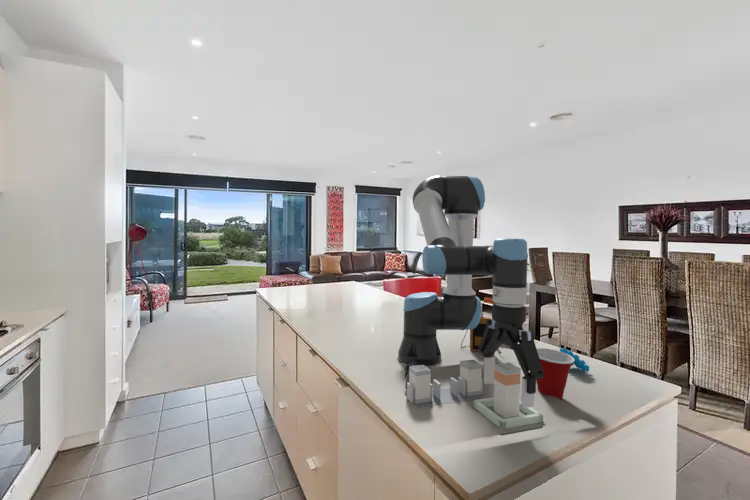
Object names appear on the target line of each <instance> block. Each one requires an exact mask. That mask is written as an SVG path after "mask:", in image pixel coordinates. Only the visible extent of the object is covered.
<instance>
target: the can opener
mask: <svg viewBox="0 0 750 500" xmlns="http://www.w3.org/2000/svg"><path fill="white" fill-rule="evenodd" d="M409 366H418V363H417V362H416V361H411V363H410V364H407V363H405V364H403V369H404V370H405V374H404V375H405V376H406V379H405V389H406V390H407V383H409Z"/></svg>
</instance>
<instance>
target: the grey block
mask: <svg viewBox="0 0 750 500" xmlns="http://www.w3.org/2000/svg"><path fill="white" fill-rule="evenodd" d="M431 372H432V371H431V369H430V368H428V366H427V365H425V366H424V365H417V366H409V383H410V384H411V385H412V386H413V387H414V403H415V404H417V403H424V402H430V383H431V375H432V373H431Z"/></svg>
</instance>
